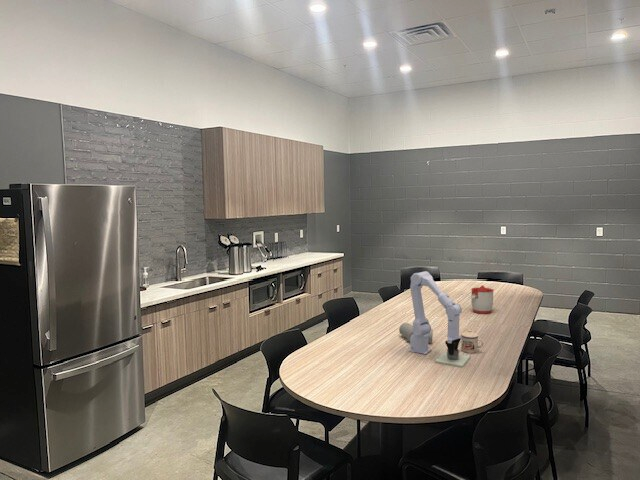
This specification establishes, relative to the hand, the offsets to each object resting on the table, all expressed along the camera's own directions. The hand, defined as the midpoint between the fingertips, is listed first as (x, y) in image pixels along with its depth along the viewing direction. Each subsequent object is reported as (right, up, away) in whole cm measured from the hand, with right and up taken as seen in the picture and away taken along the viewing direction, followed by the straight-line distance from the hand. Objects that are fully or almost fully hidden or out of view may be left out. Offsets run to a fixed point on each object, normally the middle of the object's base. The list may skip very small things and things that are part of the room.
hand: (453, 353), depth 246 cm
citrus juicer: (+49, +6, +100) cm, 112 cm away
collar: (0, -2, 0) cm, 2 cm away
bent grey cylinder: (-12, -1, +36) cm, 38 cm away
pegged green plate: (0, -4, 0) cm, 4 cm away
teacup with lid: (+15, -3, +15) cm, 21 cm away
